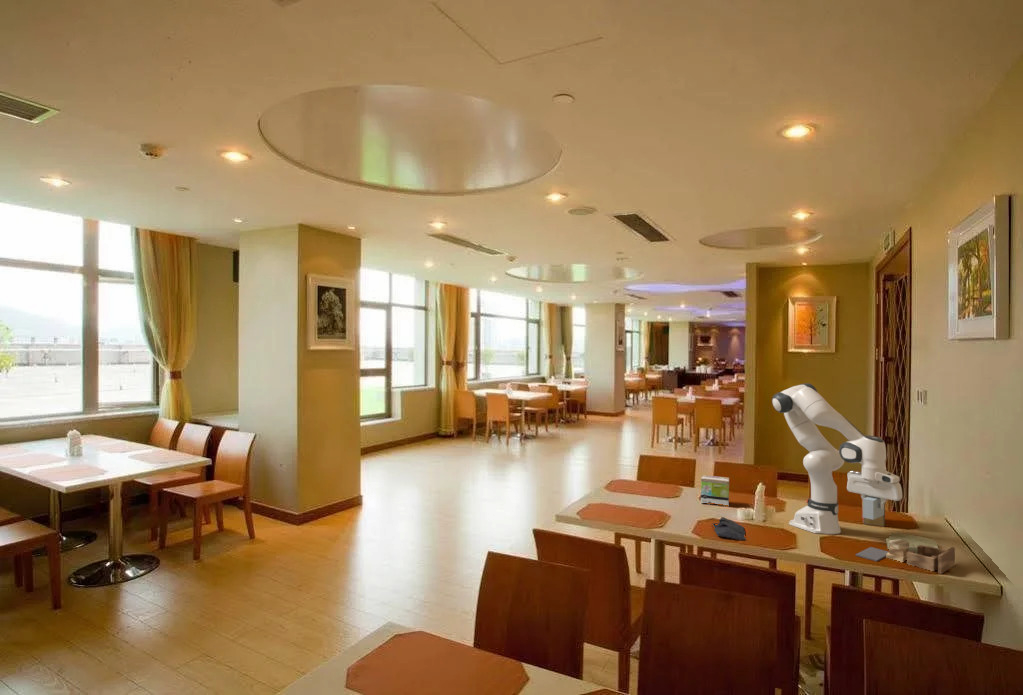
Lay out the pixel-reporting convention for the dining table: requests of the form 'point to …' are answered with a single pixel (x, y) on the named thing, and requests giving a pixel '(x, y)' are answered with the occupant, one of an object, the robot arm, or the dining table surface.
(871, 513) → the light blue rectangular block
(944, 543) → the dining table surface
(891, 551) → the offcut middle
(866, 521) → the food packaging
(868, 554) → the mat
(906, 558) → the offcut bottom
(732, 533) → the dark slate chunk
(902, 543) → the offcut top
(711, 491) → the tea box
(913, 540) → the decorative tile
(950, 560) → the rack
